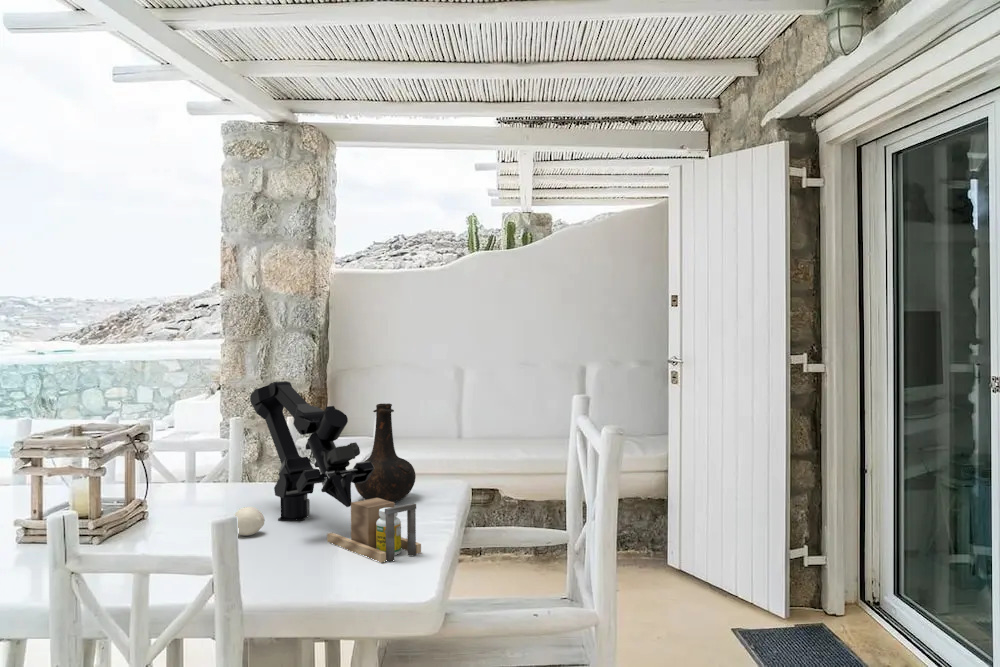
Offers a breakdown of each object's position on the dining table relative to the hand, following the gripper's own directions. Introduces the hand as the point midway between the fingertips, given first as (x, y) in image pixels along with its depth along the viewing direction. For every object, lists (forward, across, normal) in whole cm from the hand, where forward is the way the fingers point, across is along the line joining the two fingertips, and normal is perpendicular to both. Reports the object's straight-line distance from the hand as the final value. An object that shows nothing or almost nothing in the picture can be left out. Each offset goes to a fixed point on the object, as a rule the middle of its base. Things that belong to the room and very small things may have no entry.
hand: (349, 505), depth 171 cm
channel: (+12, 0, -2) cm, 13 cm away
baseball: (-8, -16, +20) cm, 27 cm away
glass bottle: (-14, +29, +26) cm, 41 cm away
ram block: (+12, 0, -2) cm, 13 cm away
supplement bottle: (+17, 0, -6) cm, 18 cm away
